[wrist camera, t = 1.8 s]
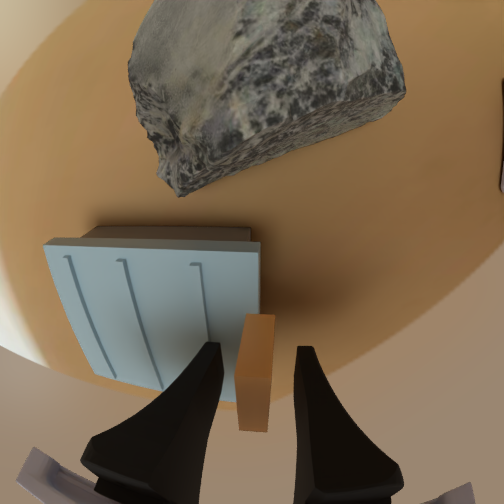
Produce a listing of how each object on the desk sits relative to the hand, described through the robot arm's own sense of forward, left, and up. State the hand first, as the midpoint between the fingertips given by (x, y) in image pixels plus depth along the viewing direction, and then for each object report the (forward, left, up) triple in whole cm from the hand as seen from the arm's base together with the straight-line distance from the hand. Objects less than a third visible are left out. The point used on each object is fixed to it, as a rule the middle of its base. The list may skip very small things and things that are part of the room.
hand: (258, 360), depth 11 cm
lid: (+5, 0, -2) cm, 6 cm away
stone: (0, -12, -6) cm, 13 cm away
